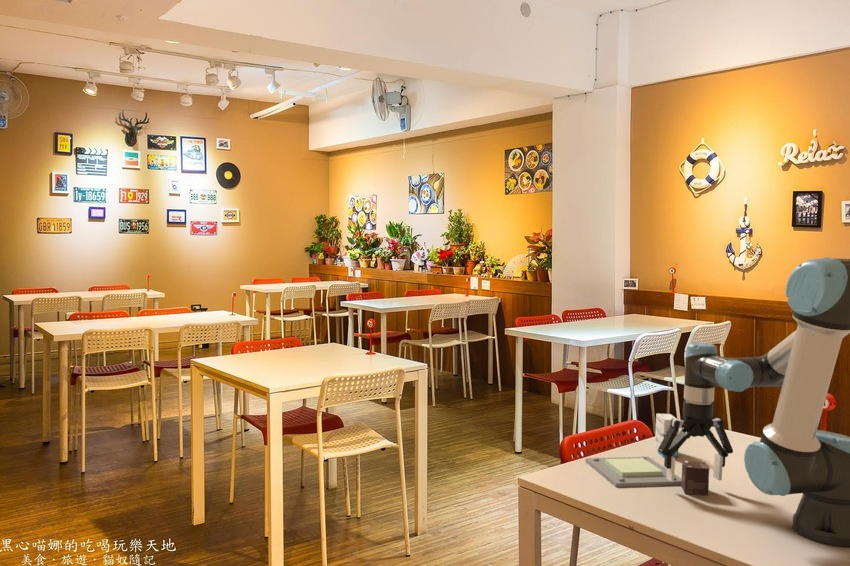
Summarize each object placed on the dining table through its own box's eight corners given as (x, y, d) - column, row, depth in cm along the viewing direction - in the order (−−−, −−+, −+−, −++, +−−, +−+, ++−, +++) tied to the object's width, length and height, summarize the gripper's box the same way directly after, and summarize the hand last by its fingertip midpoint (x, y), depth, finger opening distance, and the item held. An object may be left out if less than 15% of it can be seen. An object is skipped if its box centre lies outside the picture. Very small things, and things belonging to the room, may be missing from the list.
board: (684, 484, 194) (685, 476, 194) (615, 486, 191) (616, 479, 191) (648, 459, 215) (648, 452, 215) (585, 461, 212) (585, 454, 212)
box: (708, 496, 185) (709, 468, 185) (684, 494, 186) (685, 467, 186) (704, 488, 191) (705, 461, 191) (680, 486, 192) (681, 460, 192)
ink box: (678, 457, 218) (680, 420, 218) (662, 457, 218) (664, 419, 218) (669, 449, 227) (671, 413, 226) (654, 449, 227) (655, 413, 226)
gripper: (733, 397, 193) (728, 473, 195) (647, 398, 189) (643, 475, 191) (750, 404, 185) (745, 483, 187) (661, 405, 182) (656, 485, 183)
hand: (693, 479), depth 189 cm, fingers open, 13 cm apart
